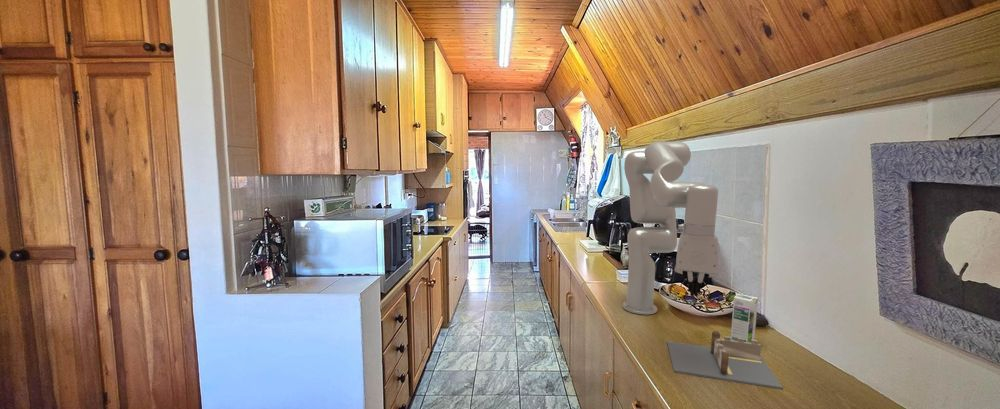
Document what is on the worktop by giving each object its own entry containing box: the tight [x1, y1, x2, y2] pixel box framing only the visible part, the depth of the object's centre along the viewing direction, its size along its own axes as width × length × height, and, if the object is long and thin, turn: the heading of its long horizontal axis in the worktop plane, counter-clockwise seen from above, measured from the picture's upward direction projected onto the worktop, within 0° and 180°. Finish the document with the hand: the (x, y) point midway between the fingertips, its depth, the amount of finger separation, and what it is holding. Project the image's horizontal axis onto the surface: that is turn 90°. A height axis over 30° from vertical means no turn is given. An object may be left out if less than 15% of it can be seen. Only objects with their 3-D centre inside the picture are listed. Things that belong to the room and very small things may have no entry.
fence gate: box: [714, 338, 729, 374], centre depth 108 cm, size 11×2×5 cm, turn 162°
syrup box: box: [729, 293, 759, 343], centre depth 123 cm, size 6×6×14 cm
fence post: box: [710, 330, 762, 361], centre depth 113 cm, size 2×12×7 cm, turn 73°
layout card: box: [666, 340, 784, 390], centre depth 110 cm, size 18×25×1 cm
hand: (693, 294), depth 109 cm, fingers closed
